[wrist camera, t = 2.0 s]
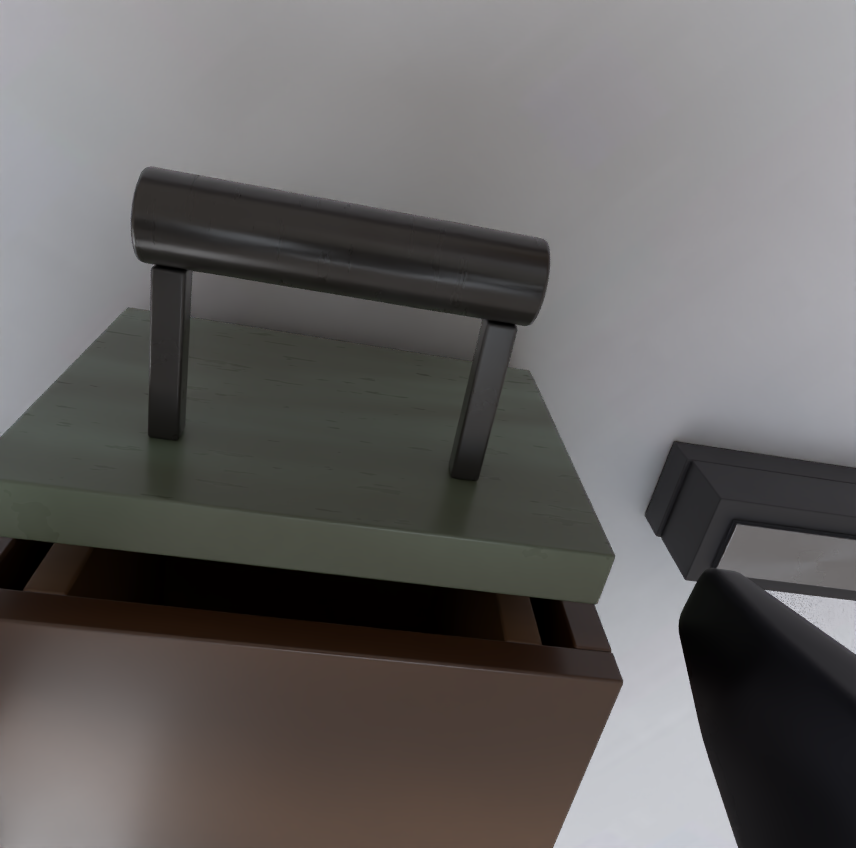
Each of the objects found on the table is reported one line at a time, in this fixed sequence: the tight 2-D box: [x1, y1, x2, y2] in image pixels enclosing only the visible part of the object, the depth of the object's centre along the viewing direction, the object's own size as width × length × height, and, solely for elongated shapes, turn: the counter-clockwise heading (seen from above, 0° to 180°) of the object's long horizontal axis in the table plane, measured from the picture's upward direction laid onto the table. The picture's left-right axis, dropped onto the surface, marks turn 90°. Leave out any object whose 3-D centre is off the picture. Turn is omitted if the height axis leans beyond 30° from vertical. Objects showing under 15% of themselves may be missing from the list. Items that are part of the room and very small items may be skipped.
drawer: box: [0, 167, 615, 645], centre depth 18 cm, size 18×11×9 cm, turn 169°
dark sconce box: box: [645, 442, 856, 601], centre depth 23 cm, size 8×3×4 cm, turn 79°
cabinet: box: [0, 537, 623, 848], centre depth 21 cm, size 15×13×11 cm
